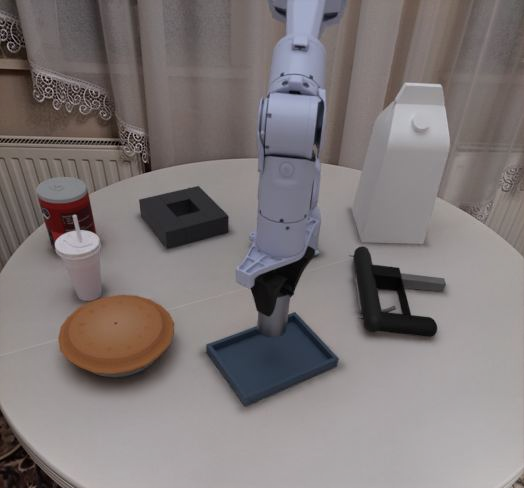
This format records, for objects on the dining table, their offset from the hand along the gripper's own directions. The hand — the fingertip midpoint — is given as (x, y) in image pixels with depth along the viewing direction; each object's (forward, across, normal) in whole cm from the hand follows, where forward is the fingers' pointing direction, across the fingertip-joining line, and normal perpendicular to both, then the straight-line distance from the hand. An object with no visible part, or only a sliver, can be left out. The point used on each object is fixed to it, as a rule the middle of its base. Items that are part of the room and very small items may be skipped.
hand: (274, 303), depth 66 cm
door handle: (+10, -24, +9) cm, 28 cm away
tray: (+10, 0, +1) cm, 10 cm away
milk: (+10, -43, -2) cm, 45 cm away
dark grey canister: (+4, 0, 0) cm, 4 cm away
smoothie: (+10, +7, -30) cm, 33 cm away
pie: (+10, +12, -18) cm, 24 cm away
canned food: (+10, -1, -42) cm, 44 cm away
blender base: (+10, -18, -33) cm, 39 cm away
